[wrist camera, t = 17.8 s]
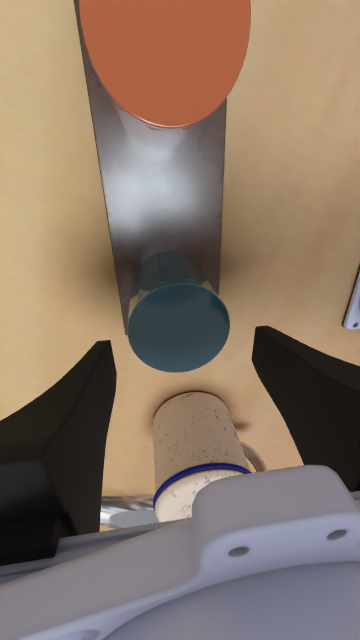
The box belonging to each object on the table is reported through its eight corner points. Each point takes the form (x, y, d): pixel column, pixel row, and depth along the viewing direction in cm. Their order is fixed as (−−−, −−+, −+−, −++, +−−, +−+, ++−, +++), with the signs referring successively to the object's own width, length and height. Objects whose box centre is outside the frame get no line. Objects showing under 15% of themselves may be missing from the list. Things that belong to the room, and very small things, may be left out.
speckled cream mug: (140, 439, 30) (139, 572, 20) (166, 381, 26) (180, 506, 16) (231, 452, 33) (270, 571, 23) (265, 401, 30) (329, 516, 19)
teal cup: (205, 248, 19) (233, 279, 13) (204, 316, 22) (227, 367, 16) (128, 253, 19) (120, 287, 13) (136, 322, 21) (133, 377, 15)
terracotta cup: (208, 19, 14) (260, -115, 8) (206, 148, 16) (244, 127, 10) (98, 17, 13) (58, -130, 7) (115, 150, 16) (96, 129, 10)
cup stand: (225, 3, 14) (277, -113, 9) (214, 320, 24) (236, 363, 18) (76, -1, 14) (29, -131, 8) (126, 328, 23) (120, 375, 17)
